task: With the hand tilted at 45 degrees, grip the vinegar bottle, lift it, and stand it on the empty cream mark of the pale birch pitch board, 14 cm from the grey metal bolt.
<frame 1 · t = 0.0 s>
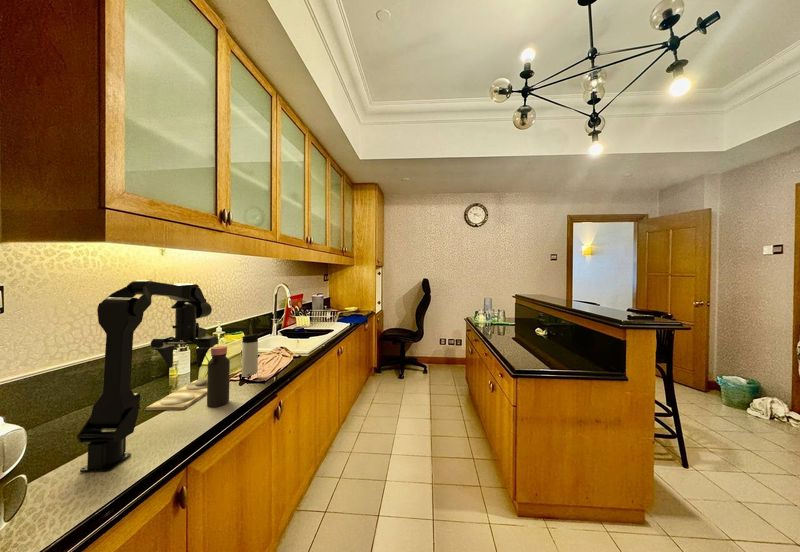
hand: (185, 367, 100), 15 cm above the worktop, tool pointing down, fingers open, 9 cm apart
pitch board: (190, 394, 114), on the worktop
vinegar: (218, 404, 106), on the worktop
travel mug: (249, 379, 132), on the worktop
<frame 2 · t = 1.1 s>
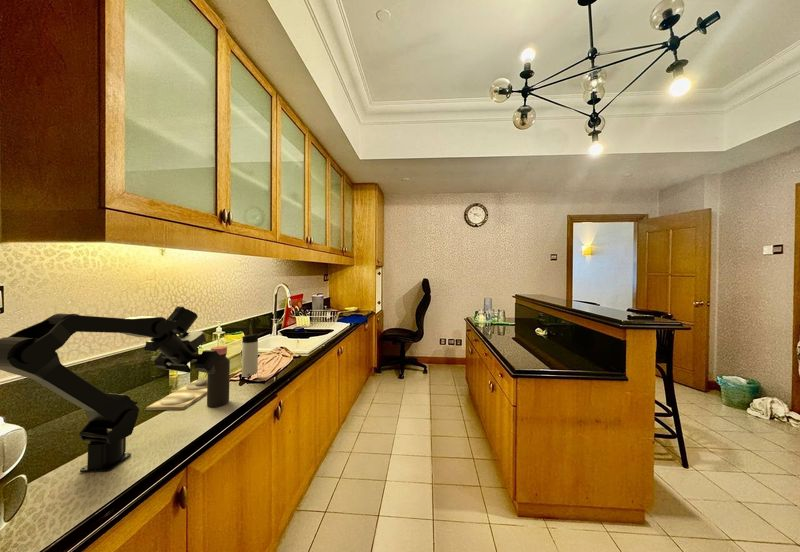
hand: (202, 372, 99), 13 cm above the worktop, tool tilted 45°, fingers open, 9 cm apart
nothing on the worktop moved.
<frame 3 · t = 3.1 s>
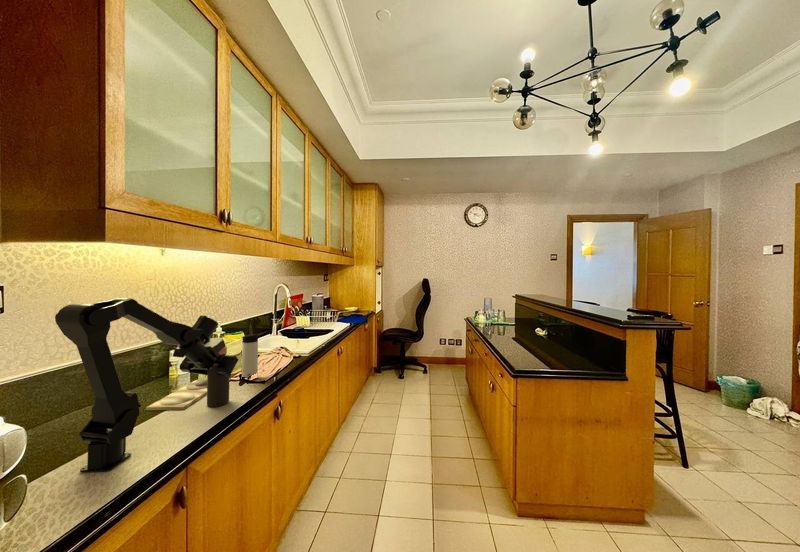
hand: (221, 375, 107), 10 cm above the worktop, tool tilted 45°, fingers closed on vinegar, 7 cm apart
vinegar: (218, 404, 106), on the worktop, touching gripper
everything else where it was.
when the fingers open (12 cm above the worktop, at t = 6.4 s): vinegar drops 1 cm, resting on pitch board.
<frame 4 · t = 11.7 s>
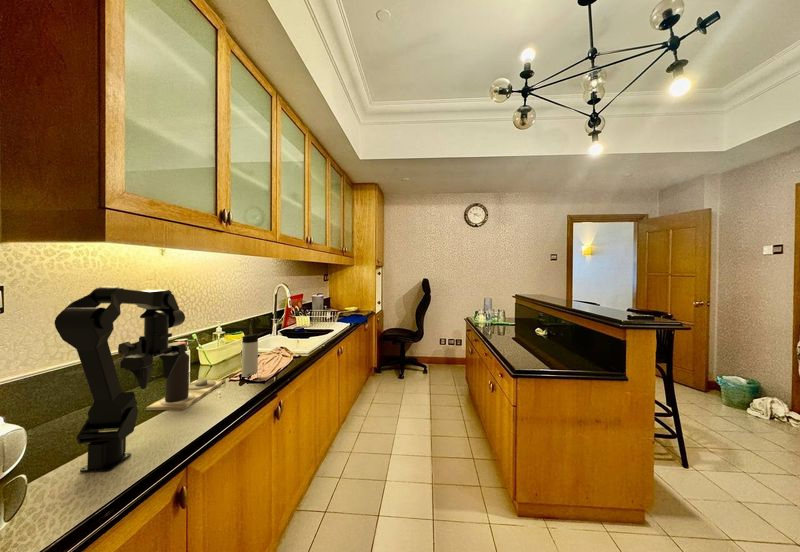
hand: (155, 383, 89), 13 cm above the worktop, tool pointing down, fingers open, 9 cm apart
vinegar: (176, 399, 106), point 1 cm above the worktop, touching pitch board
everything else where it was.
at the end: vinegar 0.5 cm from the target spot on the pitch board, point 1.1 cm above the pitch board's base; vinegar tilted 0°; the gripper is holding nothing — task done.
